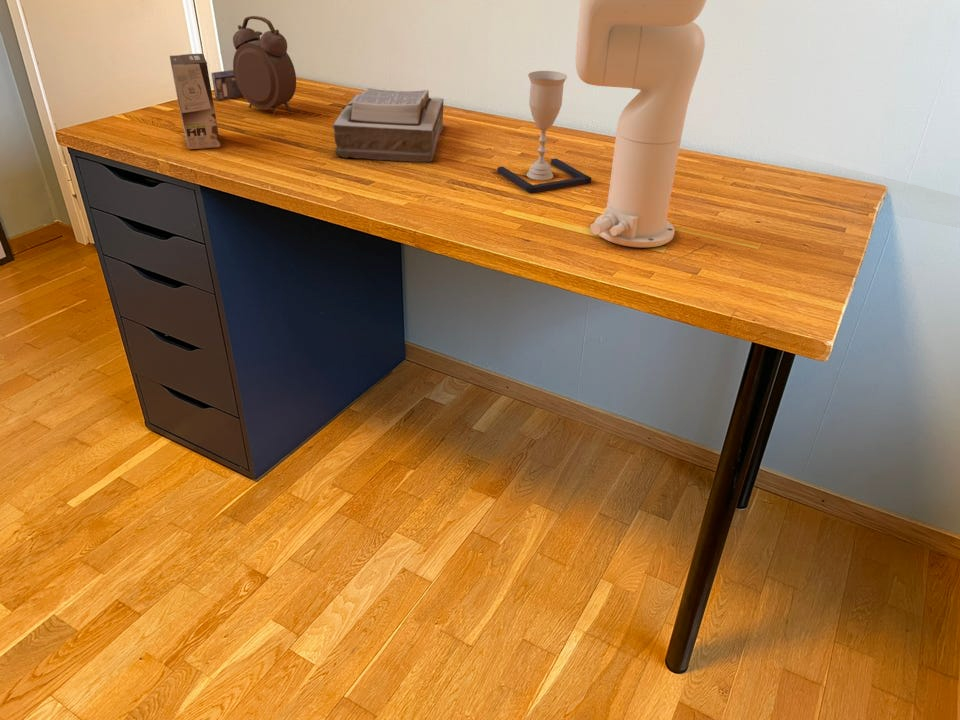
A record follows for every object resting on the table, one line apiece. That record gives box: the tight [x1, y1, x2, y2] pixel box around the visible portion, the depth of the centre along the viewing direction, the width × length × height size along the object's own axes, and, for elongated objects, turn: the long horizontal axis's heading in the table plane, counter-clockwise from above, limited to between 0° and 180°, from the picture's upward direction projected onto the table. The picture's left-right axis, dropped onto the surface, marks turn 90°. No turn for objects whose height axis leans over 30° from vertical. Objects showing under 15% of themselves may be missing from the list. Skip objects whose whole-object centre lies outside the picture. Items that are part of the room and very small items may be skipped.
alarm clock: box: [232, 15, 297, 115], centre depth 164 cm, size 15×7×20 cm, turn 58°
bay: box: [497, 158, 592, 194], centre depth 137 cm, size 12×13×1 cm
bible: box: [332, 87, 445, 163], centre depth 150 cm, size 23×27×10 cm
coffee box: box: [169, 53, 221, 150], centre depth 145 cm, size 9×6×16 cm
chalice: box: [526, 70, 568, 181], centre depth 133 cm, size 7×7×18 cm
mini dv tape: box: [211, 69, 244, 101], centre depth 177 cm, size 8×2×6 cm, turn 130°
